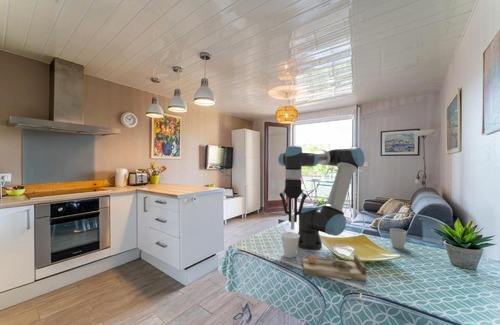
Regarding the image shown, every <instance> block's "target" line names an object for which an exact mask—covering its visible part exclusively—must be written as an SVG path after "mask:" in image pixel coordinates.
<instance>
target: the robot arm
mask: <svg viewBox="0 0 500 325" xmlns="http://www.w3.org/2000/svg"><path fill="white" fill-rule="evenodd" d="M364 154H365V153H364V151H363V150H362V148H361V147H358V146H357V147H356V146H351V147H335V148H330V149H325V150H324V149H323V150H320V151H303V148H302V146H300V145H299V146H298V145H288V146H286V148H285V152H281V153H280V154H279V156H278V161H277V162H278V163H279V165H280V166H282V167H285V168H284V169H285V170H284V171H285V173H284V174H285V175H284V177H285V179H284V180H285V181H284V190H283V191H282V192H279V196H280V198H281V200H282V202H281V203H282V206H283V210H284V214H286V215H288V223H289V222H290V230H291V231H292V230H293V231H294V230H295V223H297V221H298V231H297V234H299V235H300V237H299V242H298V247H299V248H301V249H306V250H319V249H321V248H322V245H323V244H322V239H321V235H320V232H322V233H324V234H328V235H330V236H334V237H335V236H339V235H341V234H342V233H343V232H344V231H345V229H346V225H347V218H346V216H345V212H344V211H343V208H344V205H345V201H346V198H347V195H348V192H349V188H350V186H351V183H352V180H353V179H352V178H353V176H354V173H357V171H358V169H359V168H361V167H363V166H364V165H365V155H364ZM317 165H322V166H334V167H336V168H337V171H336V174H335V176H334V180H333V183H332V186H331V190H330V193H329V194H328V199H327V201H326V204H324V205H322V207H321V209H320V207H319V206H317V205H304V204H305V199H306V198H307V197H308V194H307V193H305V192H303V189H302V168H303V167H311V168H312V167H316V166H317ZM285 195H286V197H287V198H288V208H287V204H286V200H285V199H286V198H285ZM300 196H301V199H300V203H299V208H298V199H299V198H300ZM292 199H294V200H293V201H294V203H293V206H294V207H293V208H294V209H293V211H294V212H293V213H292V202H293V201H292Z"/></svg>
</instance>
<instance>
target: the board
mask: <svg viewBox="0 0 500 325" xmlns="http://www.w3.org/2000/svg"><path fill="white" fill-rule="evenodd" d="M308 257H309V256H302V259H301V262H302V268H303V274H304V275H309V276H317V277H327V278H335V279H336V278H337V279H343V280H344V279H345V280H346V279H347V280H353V281H361V282H362V281H363V282H366V280H367V267H366V266H365V264H364V263H363V262H362V260H361V259H360V258H359V256H358V255H357V254H356V255H353V261H352V260H342V259H331V258H323V257H322V258H321V257H316V262H315V263H313V264H312V263H310V262H309V261H308Z"/></svg>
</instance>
